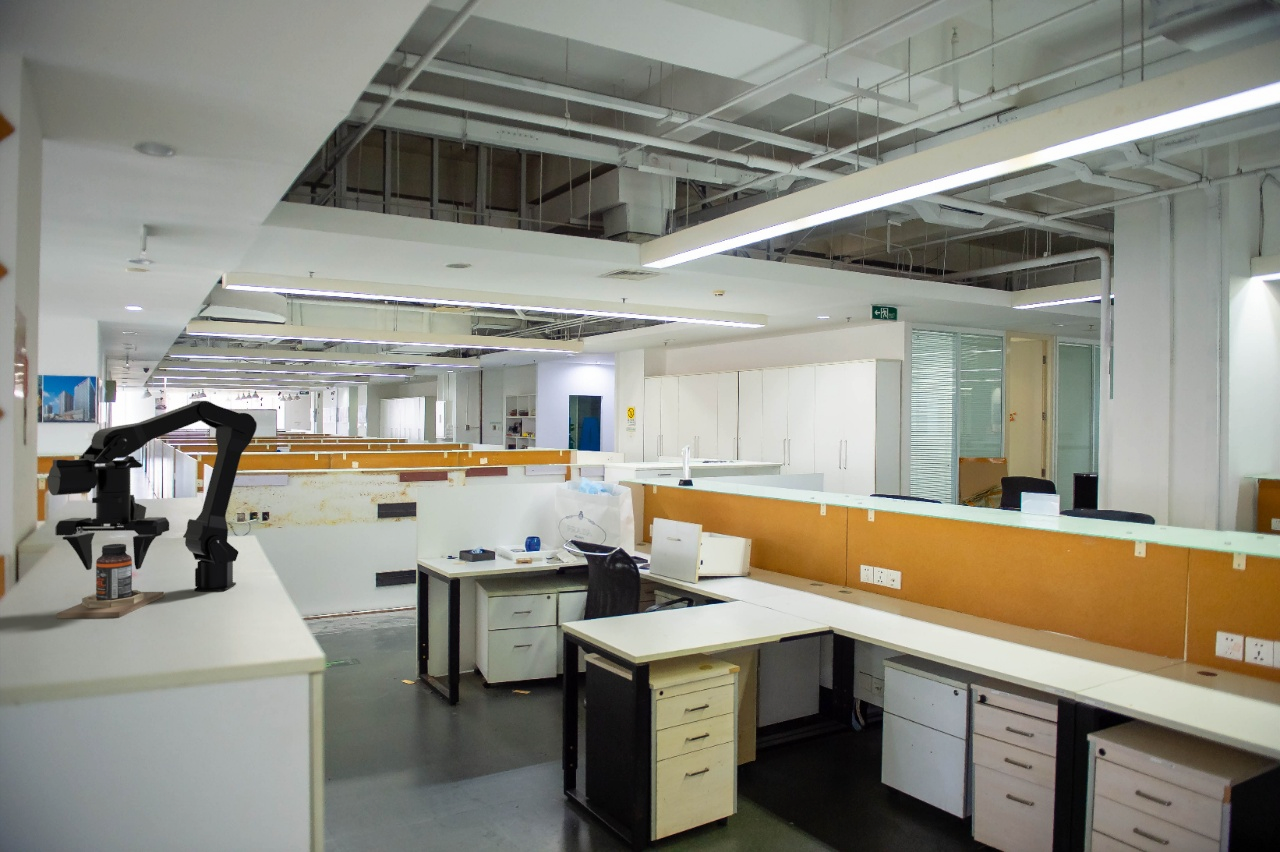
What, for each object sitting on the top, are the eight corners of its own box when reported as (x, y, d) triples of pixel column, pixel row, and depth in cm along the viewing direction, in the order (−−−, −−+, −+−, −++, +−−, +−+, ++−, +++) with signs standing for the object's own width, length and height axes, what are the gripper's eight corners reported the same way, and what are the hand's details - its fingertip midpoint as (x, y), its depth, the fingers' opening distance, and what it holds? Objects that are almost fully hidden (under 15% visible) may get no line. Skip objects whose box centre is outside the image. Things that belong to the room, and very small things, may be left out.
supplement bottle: (89, 602, 156) (89, 546, 155) (121, 596, 161) (121, 541, 161) (106, 606, 153) (106, 548, 153) (138, 600, 158) (138, 544, 158)
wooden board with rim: (163, 596, 166) (163, 585, 166) (119, 617, 149) (119, 605, 149) (108, 597, 165) (108, 586, 165) (57, 618, 148) (57, 606, 148)
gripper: (181, 487, 165) (182, 561, 166) (87, 487, 163) (87, 562, 164) (155, 492, 154) (155, 571, 155) (53, 493, 152) (53, 573, 153)
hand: (113, 569), depth 157 cm, fingers open, 9 cm apart
